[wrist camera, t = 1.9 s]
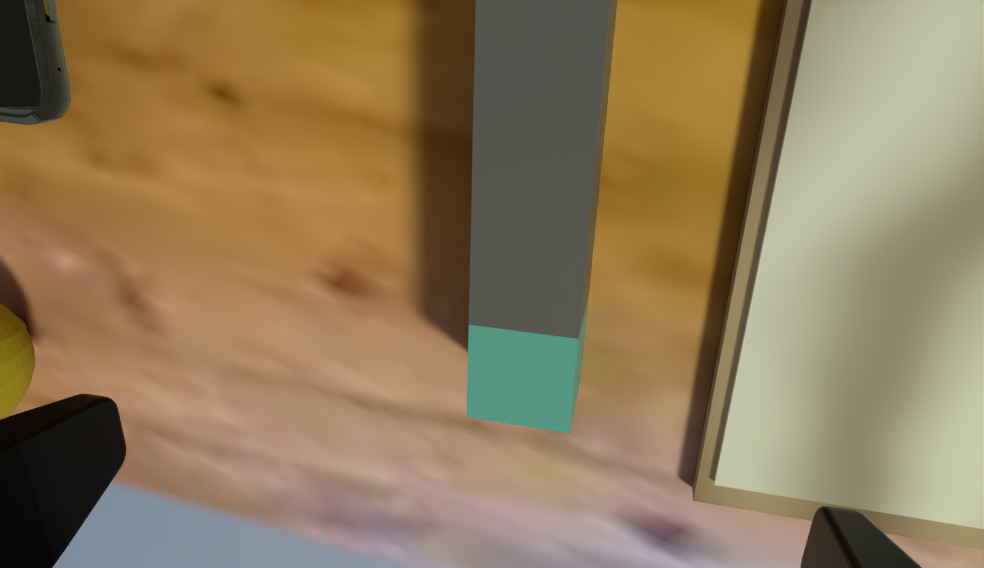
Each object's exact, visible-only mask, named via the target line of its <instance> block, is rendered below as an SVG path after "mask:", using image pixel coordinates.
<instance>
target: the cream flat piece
mask: <svg viewBox="0 0 984 568" xmlns="http://www.w3.org/2000/svg"><path fill="white" fill-rule="evenodd" d="M692 490H693V501H698V502H704V503H710V504H716V505H722V506H728V507H734V508H740V509H745V510H751V511H757V512H763V513H769V514H775V515H781V516H787V517H793V518H799V519H805V520H811V521H813V517H814V515H815V513H816V511H817V509H818V508H820V507H822V506H832V507H838V508H845V509H852V510H856V511H858V512H860V513H861V514H863V515H864V516H865V517H866V518H867V519H869V520H870V521H871V522H872V523H873V524H874V525H875V526H876V527H877V528H879V529H880V530H881V531H882V532H883V533H887V534H893V535H899V536H905V537H911V538H917V539H923V540H929V541H935V542H941V543H947V544H953V545H959V546H964V547H970V548H976V549H982V550H984V0H783V6H782V11H781V16H780V22H779V27H778V33H777V38H776V43H775V49H774V54H773V59H772V65H771V70H770V75H769V81H768V86H767V91H766V97H765V102H764V108H763V113H762V118H761V124H760V129H759V134H758V140H757V145H756V150H755V156H754V161H753V167H752V172H751V177H750V183H749V188H748V193H747V199H746V204H745V209H744V215H743V220H742V225H741V231H740V236H739V242H738V247H737V252H736V258H735V263H734V268H733V274H732V279H731V284H730V290H729V295H728V300H727V306H726V311H725V317H724V322H723V327H722V333H721V338H720V343H719V349H718V354H717V359H716V365H715V370H714V376H713V381H712V386H711V392H710V397H709V402H708V408H707V413H706V418H705V424H704V429H703V434H702V440H701V445H700V451H699V456H698V461H697V467H696V472H695V477H694V483H693V488H692Z"/></svg>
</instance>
